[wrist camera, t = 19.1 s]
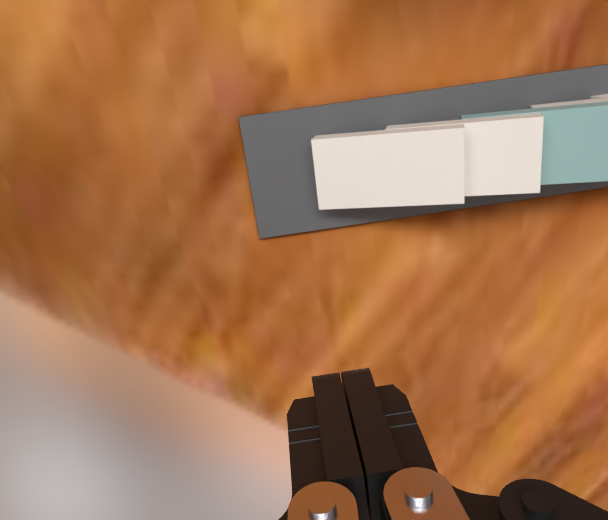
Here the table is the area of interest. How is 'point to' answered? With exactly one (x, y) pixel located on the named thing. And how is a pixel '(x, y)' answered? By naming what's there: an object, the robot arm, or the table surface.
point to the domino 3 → (570, 141)
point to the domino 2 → (499, 153)
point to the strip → (377, 116)
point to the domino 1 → (390, 167)
